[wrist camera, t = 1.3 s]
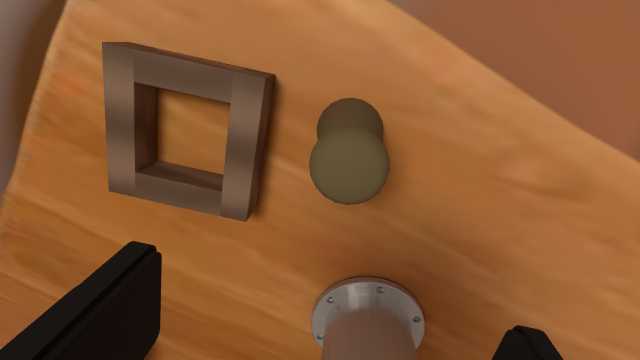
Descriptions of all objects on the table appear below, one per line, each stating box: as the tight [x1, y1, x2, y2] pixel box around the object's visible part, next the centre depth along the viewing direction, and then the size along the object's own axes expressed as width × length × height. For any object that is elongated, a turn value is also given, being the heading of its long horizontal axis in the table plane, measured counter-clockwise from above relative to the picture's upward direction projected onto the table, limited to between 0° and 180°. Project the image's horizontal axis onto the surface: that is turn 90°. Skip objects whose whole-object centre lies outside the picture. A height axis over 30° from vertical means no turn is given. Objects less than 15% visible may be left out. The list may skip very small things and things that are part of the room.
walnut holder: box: [102, 42, 275, 222], centre depth 30 cm, size 13×13×4 cm
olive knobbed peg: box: [309, 98, 389, 205], centre depth 25 cm, size 6×6×11 cm
